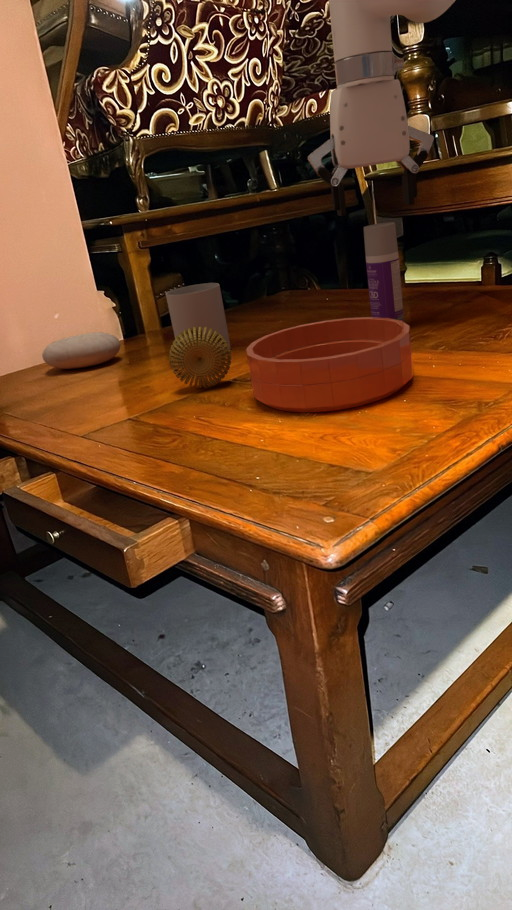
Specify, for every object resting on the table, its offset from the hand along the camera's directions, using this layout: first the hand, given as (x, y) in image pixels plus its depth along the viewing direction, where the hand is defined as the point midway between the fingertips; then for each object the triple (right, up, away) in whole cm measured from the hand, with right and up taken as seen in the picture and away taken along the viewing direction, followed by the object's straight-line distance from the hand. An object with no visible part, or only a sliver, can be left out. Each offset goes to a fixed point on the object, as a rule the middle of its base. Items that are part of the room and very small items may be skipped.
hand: (375, 209), depth 98 cm
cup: (-25, -19, +11) cm, 33 cm away
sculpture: (-23, -26, -7) cm, 36 cm away
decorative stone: (-45, -20, +17) cm, 52 cm away
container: (+3, -16, +6) cm, 17 cm away
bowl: (-8, -27, -16) cm, 32 cm away
